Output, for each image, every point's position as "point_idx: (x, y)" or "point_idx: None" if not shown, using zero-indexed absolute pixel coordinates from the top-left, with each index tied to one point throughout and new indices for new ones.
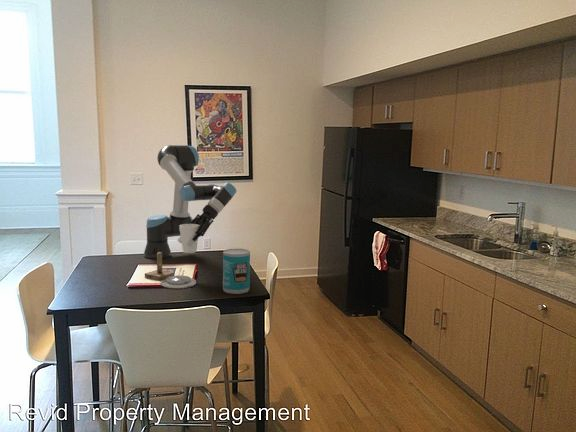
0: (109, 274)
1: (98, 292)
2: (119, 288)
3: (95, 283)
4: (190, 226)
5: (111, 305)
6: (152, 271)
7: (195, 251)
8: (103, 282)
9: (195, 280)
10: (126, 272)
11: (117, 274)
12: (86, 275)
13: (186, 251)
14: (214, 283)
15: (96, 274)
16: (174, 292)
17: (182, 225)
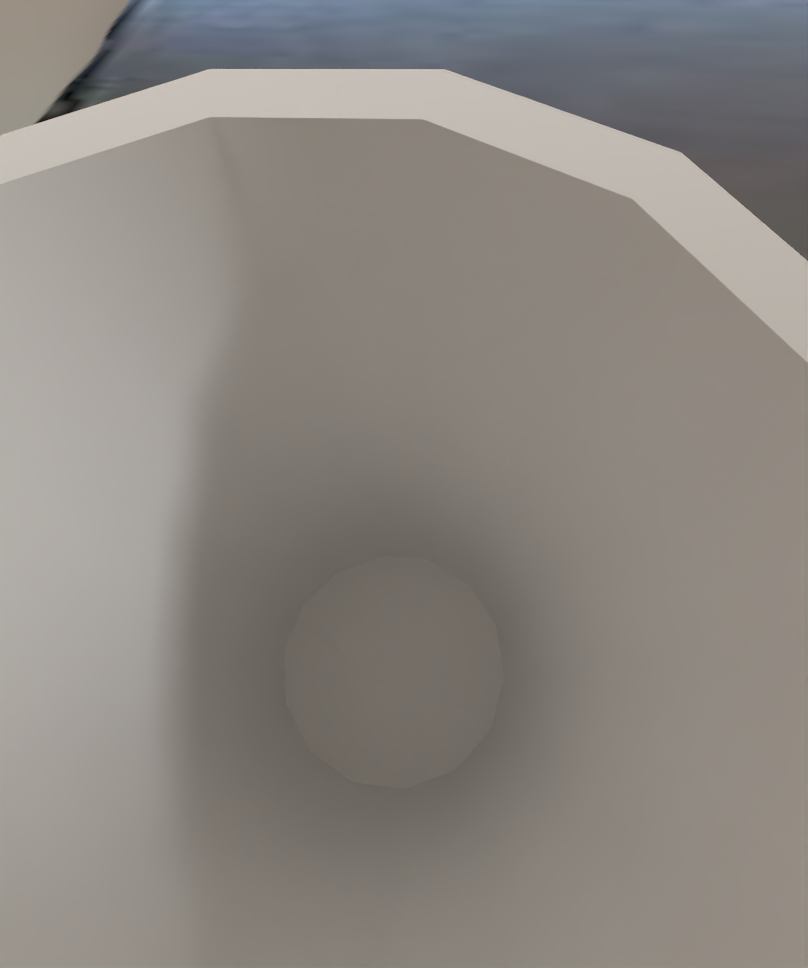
0: (754, 141)
1: (345, 67)
2: None
3: (542, 64)
4: (765, 890)
5: (91, 100)
6: None
7: (302, 745)
8: (548, 98)
9: None
10: (787, 241)
11: (739, 183)
12: (766, 32)
13: (320, 575)
14: None
15: (778, 78)
16: None
17: (672, 290)
